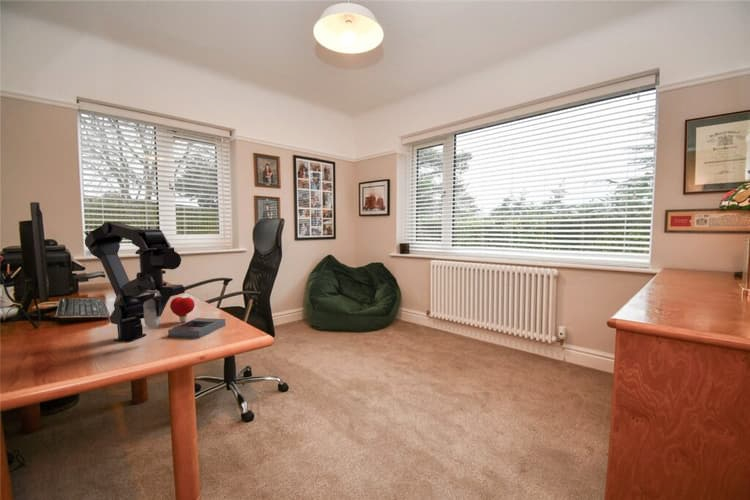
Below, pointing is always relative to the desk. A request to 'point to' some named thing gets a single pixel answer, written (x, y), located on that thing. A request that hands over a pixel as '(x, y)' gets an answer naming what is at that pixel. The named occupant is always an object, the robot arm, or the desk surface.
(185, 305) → the light bulb
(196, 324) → the socket block
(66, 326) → the desk surface
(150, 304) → the pale grey rock
